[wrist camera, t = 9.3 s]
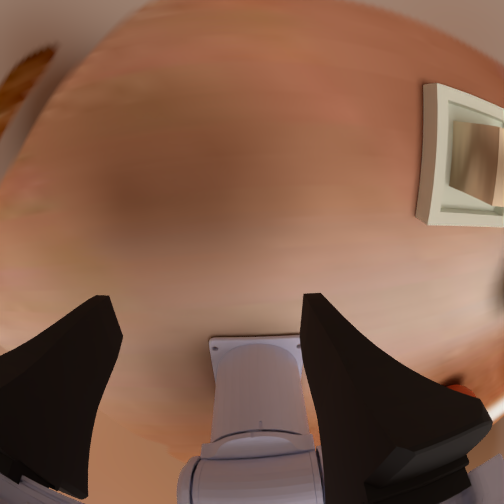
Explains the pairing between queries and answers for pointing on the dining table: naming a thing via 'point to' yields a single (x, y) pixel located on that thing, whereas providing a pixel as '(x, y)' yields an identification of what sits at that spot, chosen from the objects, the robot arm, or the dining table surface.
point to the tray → (440, 156)
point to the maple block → (478, 161)
